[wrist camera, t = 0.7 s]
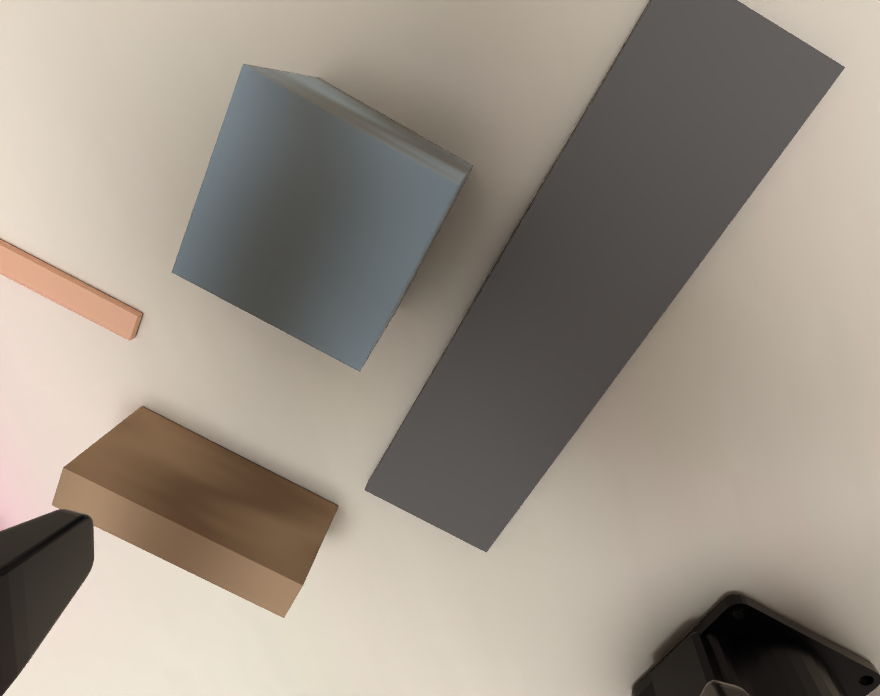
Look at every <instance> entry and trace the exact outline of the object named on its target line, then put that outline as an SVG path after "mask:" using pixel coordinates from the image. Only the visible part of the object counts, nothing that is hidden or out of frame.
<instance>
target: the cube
mask: <svg viewBox="0 0 880 696" xmlns="http://www.w3.org/2000/svg"><path fill="white" fill-rule="evenodd" d="M472 167H473V166H472V165H470V164H469V163H467V162H465V161H463V160H462V159H460V158H458V157H456V156H455V155H453V154H451V153H449V152H448V151H446V150H444V149H442V148H441V147H439V146H437V145H435V144H434V143H432V142H430V141H428V140H427V139H425V138H423V137H421V136H420V135H418V134H416V133H414V132H413V131H411V130H409V129H407V128H406V127H404V126H402V125H400V124H398V123H397V122H395V121H393V120H391V119H390V118H388V117H386V116H384V115H383V114H381V113H379V112H377V111H376V110H374V109H372V108H370V107H369V106H367V105H365V104H363V103H362V102H360V101H358V100H356V99H355V98H353V97H351V96H349V95H348V94H346V93H344V92H342V91H341V90H339V89H337V88H335V87H334V86H332V85H330V84H328V83H326V82H325V81H323V80H321V79H319V78H317V77H312V76H306V75H301V74H295V73H290V72H284V71H279V70H273V69H268V68H262V67H257V66H251V65H246V64H243V66H242V69H241V72H240V75H239V78H238V81H237V84H236V86H235V89H234V92H233V95H232V98H231V101H230V104H229V107H228V110H227V113H226V116H225V118H224V121H223V124H222V127H221V130H220V133H219V136H218V139H217V142H216V145H215V148H214V151H213V153H212V156H211V159H210V162H209V165H208V168H207V171H206V174H205V177H204V180H203V183H202V186H201V188H200V191H199V194H198V197H197V200H196V203H195V206H194V209H193V212H192V215H191V218H190V220H189V223H188V226H187V229H186V232H185V235H184V238H183V241H182V244H181V247H180V250H179V253H178V255H177V258H176V261H175V264H174V267H173V270H172V273H174V274H176V275H178V276H180V277H182V278H184V279H186V280H187V281H189V282H191V283H193V284H195V285H197V286H199V287H201V288H203V289H204V290H206V291H208V292H210V293H212V294H214V295H216V296H218V297H220V298H221V299H223V300H225V301H227V302H229V303H231V304H233V305H235V306H237V307H239V308H240V309H242V310H244V311H246V312H248V313H250V314H252V315H254V316H256V317H257V318H259V319H261V320H263V321H265V322H267V323H269V324H271V325H273V326H274V327H276V328H278V329H280V330H282V331H284V332H286V333H288V334H290V335H291V336H293V337H295V338H297V339H299V340H301V341H303V342H305V343H307V344H308V345H310V346H312V347H314V348H316V349H318V350H320V351H322V352H324V353H326V354H327V355H329V356H331V357H333V358H335V359H337V360H339V361H341V362H343V363H344V364H346V365H348V366H350V367H352V368H354V369H356V370H358V371H360V370H361V369H362V367H363V365H364V364H365V362H366V360H367V359H368V357H369V355H370V354H371V352H372V350H373V349H374V347H375V345H376V344H377V342H378V340H379V339H380V337H381V335H382V334H383V332H384V330H385V329H386V327H387V325H388V323H389V322H390V320H391V318H392V317H393V315H394V313H395V312H396V310H397V308H398V306H399V305H400V303H401V301H402V299H403V297H404V295H405V293H406V291H407V289H408V288H409V286H410V284H411V282H412V280H413V278H414V276H415V274H416V272H417V271H418V269H419V267H420V265H421V263H422V261H423V259H424V257H425V255H426V254H427V252H428V250H429V248H430V246H431V244H432V242H433V240H434V238H435V237H436V235H437V233H438V231H439V229H440V227H441V225H442V223H443V222H444V220H445V218H446V216H447V214H448V212H449V210H450V208H451V206H452V205H453V203H454V201H455V199H456V197H457V195H458V193H459V191H460V189H461V188H462V186H463V184H464V182H465V180H466V178H467V176H468V174H469V172H470V171H471V169H472Z"/></svg>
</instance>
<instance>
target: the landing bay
mask: <svg viewBox="0 0 880 696" xmlns="http://www.w3.org/2000/svg"><path fill="white" fill-rule="evenodd" d="M0 274H2V275H4V276H6V277H7V278H9V279H11V280H13V281H15V282H17V283H19V284H21V285H23V286H25V287H27V288H29V289H31V290H33V291H35V292H37V293H38V294H40V295H42V296H44V297H46V298H48V299H50V300H52V301H54V302H56V303H58V304H60V305H62V306H64V307H66V308H68V309H69V310H71V311H73V312H75V313H77V314H79V315H81V316H83V317H85V318H87V319H89V320H91V321H93V322H95V323H97V324H99V325H100V326H102V327H104V328H106V329H108V330H110V331H112V332H114V333H116V334H118V335H120V336H122V337H124V338H126V339H128V340H131V339H133V338H135V335H136V332H137V329H138V326H139V323H140V320H141V317H142V314H143V313H141V312H139V311H137V310H135V309H133V308H131V307H129V306H127V305H125V304H123V303H122V302H120V301H118V300H116V299H114V298H112V297H110V296H108V295H106V294H104V293H102V292H100V291H99V290H97V289H95V288H93V287H91V286H89V285H87V284H85V283H83V282H81V281H79V280H77V279H75V278H74V277H72V276H70V275H68V274H66V273H64V272H62V271H60V270H58V269H56V268H54V267H52V266H51V265H49V264H47V263H45V262H43V261H41V260H39V259H37V258H35V257H33V256H31V255H29V254H27V253H26V252H24V251H22V250H20V249H18V248H16V247H14V246H12V245H10V244H8V243H6V242H4V241H3V240H1V239H0Z"/></svg>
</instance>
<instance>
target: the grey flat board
mask: <svg viewBox="0 0 880 696" xmlns="http://www.w3.org/2000/svg"><path fill="white" fill-rule="evenodd" d="M844 68H845V67H844V66H842V65H841V64H839V63H837V62H836V61H834V60H832V59H831V58H829V57H828V56H826V55H824V54H823V53H821V52H820V51H818V50H816V49H815V48H813V47H811V46H810V45H808V44H807V43H805V42H803V41H802V40H800V39H799V38H797V37H795V36H794V35H792V34H790V33H789V32H787V31H786V30H784V29H782V28H781V27H779V26H778V25H776V24H774V23H773V22H771V21H769V20H768V19H766V18H765V17H763V16H761V15H760V14H758V13H757V12H755V11H753V10H752V9H750V8H749V7H747V6H745V5H744V4H742V3H740V2H739V1H737V0H650V2H649V3H648V5H647V7H646V9H645V10H644V12H643V14H642V15H641V17H640V19H639V21H638V22H637V24H636V26H635V27H634V29H633V31H632V32H631V34H630V36H629V38H628V39H627V41H626V43H625V44H624V46H623V48H622V50H621V51H620V53H619V55H618V56H617V58H616V60H615V61H614V63H613V65H612V67H611V68H610V70H609V72H608V73H607V75H606V77H605V79H604V80H603V82H602V84H601V85H600V87H599V89H598V90H597V92H596V94H595V96H594V97H593V99H592V101H591V102H590V104H589V106H588V108H587V109H586V111H585V113H584V114H583V116H582V118H581V119H580V121H579V123H578V125H577V126H576V128H575V130H574V131H573V133H572V135H571V137H570V138H569V140H568V142H567V143H566V145H565V147H564V148H563V150H562V152H561V154H560V155H559V157H558V159H557V160H556V162H555V164H554V166H553V167H552V169H551V171H550V172H549V174H548V176H547V177H546V179H545V181H544V183H543V184H542V186H541V188H540V189H539V191H538V193H537V195H536V196H535V198H534V200H533V201H532V203H531V205H530V206H529V208H528V210H527V212H526V213H525V215H524V217H523V218H522V220H521V222H520V224H519V225H518V227H517V229H516V230H515V232H514V234H513V236H512V237H511V239H510V241H509V242H508V244H507V246H506V247H505V249H504V251H503V253H502V254H501V256H500V258H499V259H498V261H497V263H496V265H495V266H494V268H493V270H492V271H491V273H490V275H489V276H488V278H487V280H486V282H485V283H484V285H483V287H482V288H481V290H480V292H479V294H478V295H477V297H476V299H475V300H474V302H473V304H472V305H471V307H470V309H469V311H468V312H467V314H466V316H465V317H464V319H463V321H462V323H461V324H460V326H459V328H458V329H457V331H456V333H455V334H454V336H453V338H452V340H451V341H450V343H449V345H448V346H447V348H446V350H445V352H444V353H443V355H442V357H441V358H440V360H439V362H438V363H437V365H436V367H435V369H434V370H433V372H432V374H431V375H430V377H429V379H428V381H427V382H426V384H425V386H424V387H423V389H422V391H421V392H420V394H419V396H418V398H417V399H416V401H415V403H414V404H413V406H412V408H411V410H410V411H409V413H408V415H407V416H406V418H405V420H404V421H403V423H402V425H401V427H400V428H399V430H398V432H397V433H396V435H395V437H394V439H393V440H392V442H391V444H390V445H389V447H388V449H387V450H386V452H385V454H384V456H383V457H382V459H381V461H380V462H379V464H378V466H377V468H376V469H375V471H374V473H373V474H372V476H371V478H370V479H369V481H368V483H367V485H366V488H365V490H366V491H367V492H369V493H371V494H373V495H375V496H377V497H379V498H381V499H383V500H385V501H387V502H389V503H391V504H393V505H395V506H397V507H399V508H401V509H403V510H405V511H407V512H409V513H410V514H412V515H414V516H416V517H418V518H420V519H422V520H424V521H426V522H428V523H430V524H432V525H434V526H436V527H438V528H440V529H442V530H444V531H446V532H448V533H450V534H452V535H453V536H455V537H457V538H459V539H461V540H463V541H465V542H467V543H469V544H471V545H473V546H475V547H477V548H479V549H481V550H483V551H485V552H487V551H488V550H489V548H490V547H491V545H492V544H493V543H494V541H495V540H496V539H497V537H498V536H499V535H500V533H501V532H502V531H503V529H504V528H505V527H506V525H507V524H508V522H509V521H510V520H511V518H512V517H513V516H514V514H515V513H516V512H517V510H518V509H519V508H520V506H521V505H522V504H523V502H524V501H525V499H526V498H527V497H528V495H529V494H530V493H531V491H532V490H533V489H534V487H535V486H536V485H537V483H538V482H539V481H540V479H541V478H542V476H543V475H544V474H545V472H546V471H547V470H548V468H549V467H550V466H551V464H552V463H553V462H554V460H555V459H556V458H557V456H558V455H559V454H560V452H561V451H562V449H563V448H564V447H565V445H566V444H567V443H568V441H569V440H570V439H571V437H572V436H573V435H574V433H575V432H576V431H577V429H578V428H579V426H580V425H581V424H582V422H583V421H584V420H585V418H586V417H587V416H588V414H589V413H590V412H591V410H592V409H593V408H594V406H595V405H596V403H597V402H598V401H599V399H600V398H601V397H602V395H603V394H604V393H605V391H606V390H607V389H608V387H609V386H610V385H611V383H612V382H613V380H614V379H615V378H616V376H617V375H618V374H619V372H620V371H621V370H622V368H623V367H624V366H625V364H626V363H627V362H628V360H629V359H630V357H631V356H632V355H633V353H634V352H635V351H636V349H637V348H638V347H639V345H640V344H641V343H642V341H643V340H644V339H645V337H646V336H647V334H648V333H649V332H650V330H651V329H652V328H653V326H654V325H655V324H656V322H657V321H658V320H659V318H660V317H661V316H662V314H663V313H664V312H665V310H666V309H667V307H668V306H669V305H670V303H671V302H672V301H673V299H674V298H675V297H676V295H677V294H678V293H679V291H680V290H681V289H682V287H683V286H684V284H685V283H686V282H687V280H688V279H689V278H690V276H691V275H692V274H693V272H694V271H695V270H696V268H697V267H698V266H699V264H700V263H701V261H702V260H703V259H704V257H705V256H706V255H707V253H708V252H709V251H710V249H711V248H712V247H713V245H714V244H715V243H716V241H717V240H718V238H719V237H720V236H721V234H722V233H723V232H724V230H725V229H726V228H727V226H728V225H729V224H730V222H731V221H732V220H733V218H734V217H735V215H736V214H737V213H738V211H739V210H740V209H741V207H742V206H743V205H744V203H745V202H746V201H747V199H748V198H749V197H750V195H751V194H752V193H753V191H754V190H755V188H756V187H757V186H758V184H759V183H760V182H761V180H762V179H763V178H764V176H765V175H766V174H767V172H768V171H769V170H770V168H771V167H772V165H773V164H774V163H775V161H776V160H777V159H778V157H779V156H780V155H781V153H782V152H783V151H784V149H785V148H786V147H787V145H788V144H789V142H790V141H791V140H792V138H793V137H794V136H795V134H796V133H797V132H798V130H799V129H800V128H801V126H802V125H803V124H804V122H805V121H806V119H807V118H808V117H809V115H810V114H811V113H812V111H813V110H814V109H815V107H816V106H817V105H818V103H819V102H820V101H821V99H822V98H823V96H824V95H825V94H826V92H827V91H828V90H829V88H830V87H831V86H832V84H833V83H834V82H835V80H836V79H837V78H838V76H839V75H840V73H841V72H842V71H843V69H844Z"/></svg>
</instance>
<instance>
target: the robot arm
mask: <svg viewBox="0 0 880 696" xmlns="http://www.w3.org/2000/svg"><path fill="white" fill-rule="evenodd" d="M93 561H94V531H93V520H92V518H91V517H90V516H89V515H88V514H85V513H81V512H77V511H73V510H69V509H59V510H56V511H53V512H50V513H48V514H45V515H42V516H40V517H37V518H34V519H32V520H29V521H26V522H24V523H21V524H18V525H16V526H13V527H10V528H8V529H5V530H2V531H0V696H2V695H3V694H4V693H5V691H6V690H7V689H8V688H9V686H10V685H11V684H12V683H13V681H14V680H15V679H16V678H17V676H18V675H19V674H20V672H21V671H22V670H23V668H24V667H25V666H26V664H27V663H28V661H29V660H30V659H31V657H32V656H33V654H34V653H35V651H36V650H37V649H38V647H39V646H40V644H41V643H42V641H43V640H44V638H45V637H46V636H47V634H48V633H49V631H50V630H51V628H52V627H53V625H54V624H55V622H56V621H57V620H58V618H59V617H60V615H61V614H62V612H63V611H64V609H65V608H66V607H67V605H68V604H69V602H70V601H71V599H72V598H73V596H74V595H75V594H76V592H77V591H78V589H79V588H80V586H81V585H82V583H83V582H84V581H85V579H86V578H87V576H88V574H89V572H90V570H91V568H92V565H93ZM736 609H740V610H738V611H734V610H736ZM879 684H880V674H879V673H878V671H877V670H876V668H875V667H874V665H872V664H871V663H870V662H868V661H866V660H864V659H862V658H860V657H858V656H857V655H855V654H853V653H851V652H849V651H847V650H845V649H843V648H841V647H839V646H837V645H836V644H834V643H832V642H830V641H828V640H826V639H824V638H822V637H820V636H818V635H817V634H815V633H813V632H811V631H809V630H807V629H805V628H803V627H801V626H799V625H798V624H796V623H794V622H792V621H790V620H788V619H786V618H784V617H782V616H780V615H779V614H777V613H775V612H773V611H771V610H769V609H767V608H765V607H763V606H761V605H759V604H758V603H756V602H754V601H752V600H750V599H748V598H746V597H744V596H741V595H731V596H728V597H726V598H725V599H724V600H723V601H722V602H721V603H720V604H718V605H717V606H716V607H715V608H714V609H713V610H712V611H711V612H710V613H709V614H708V615H707V616H706V617H705V618H704V619H703V620H702V621H701V622H700V623H699V624H698V625H697V626H696V627H695V628H694V629H693V630H692V631H691V632H690V633H689V634H688V635H687V636H686V637H685V638H684V639H683V640H682V641H681V642H680V643H679V644H678V645H677V646H676V647H675V648H674V649H673V650H672V651H671V652H670V653H669V654H668V655H667V656H666V657H665V658H664V659H663V660H662V661H661V662H660V663H659V664H658V665H657V666H656V667H655V668H654V669H653V670H652V671H651V672H650V673H649V674H648V675H647V676H646V677H645V678H644V679H643V680H641V681H640V682H639V683H638V684H637V685H636V686H635V687H634V689H633V690H632V696H866V695H867V694H869V693H870V692H871V691H873V690H874V689H875V688H876V687H878V686H879Z"/></svg>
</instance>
